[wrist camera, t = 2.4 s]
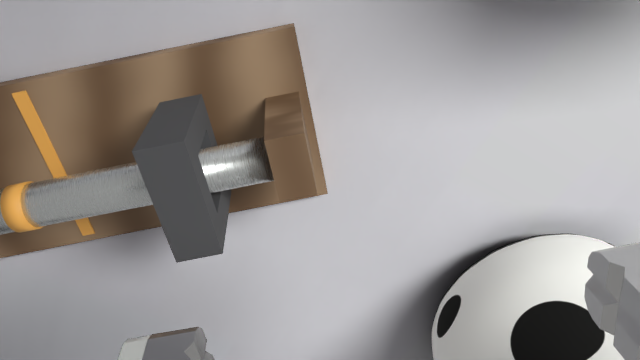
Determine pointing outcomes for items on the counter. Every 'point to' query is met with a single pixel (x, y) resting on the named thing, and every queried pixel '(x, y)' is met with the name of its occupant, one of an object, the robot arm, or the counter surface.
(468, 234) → the counter surface
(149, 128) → the collar
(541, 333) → the milk container
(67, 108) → the pipe stand
